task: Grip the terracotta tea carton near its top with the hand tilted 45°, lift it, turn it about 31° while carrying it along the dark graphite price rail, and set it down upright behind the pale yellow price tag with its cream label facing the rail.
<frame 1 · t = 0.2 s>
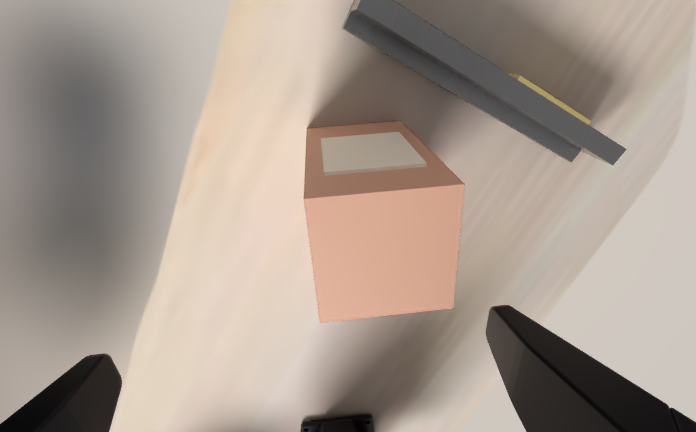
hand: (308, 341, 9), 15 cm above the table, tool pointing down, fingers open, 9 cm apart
tea carton: (356, 169, 22), on the table
price rail: (474, 83, 21), on the table
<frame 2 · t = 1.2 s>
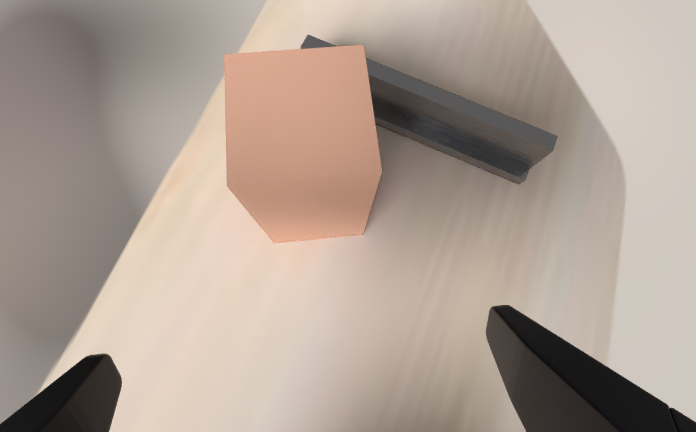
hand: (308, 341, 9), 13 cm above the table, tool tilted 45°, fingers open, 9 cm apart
tea carton: (315, 196, 23), on the table
price rail: (412, 124, 25), on the table
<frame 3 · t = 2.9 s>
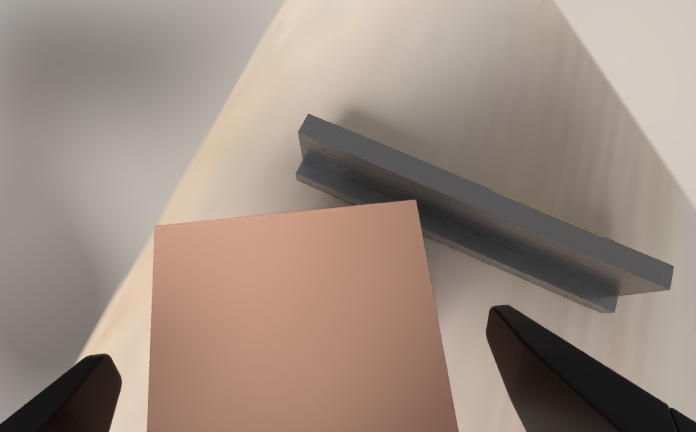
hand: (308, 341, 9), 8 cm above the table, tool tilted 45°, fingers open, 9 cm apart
tea carton: (319, 337, 16), on the table
price rail: (450, 226, 18), on the table
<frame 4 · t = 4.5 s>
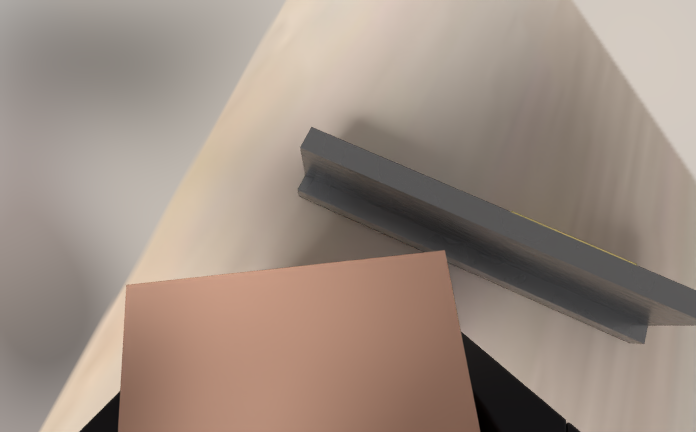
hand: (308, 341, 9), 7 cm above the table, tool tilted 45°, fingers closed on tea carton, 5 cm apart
tea carton: (322, 370, 15), on the table, touching gripper
price rail: (464, 246, 17), on the table
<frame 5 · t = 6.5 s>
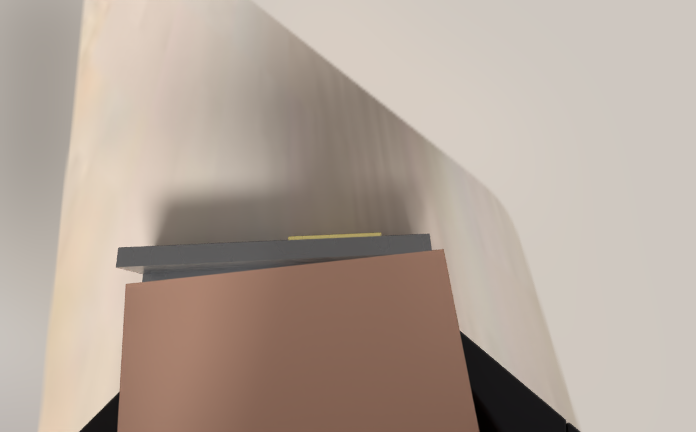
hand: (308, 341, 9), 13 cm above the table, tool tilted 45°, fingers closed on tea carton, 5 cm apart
tea carton: (322, 370, 15), point 6 cm above the table, touching gripper
price rail: (285, 265, 22), on the table
when the fingers open (8 cm above the table, at t = 8.6 s): tea carton drops 1 cm, on the table.
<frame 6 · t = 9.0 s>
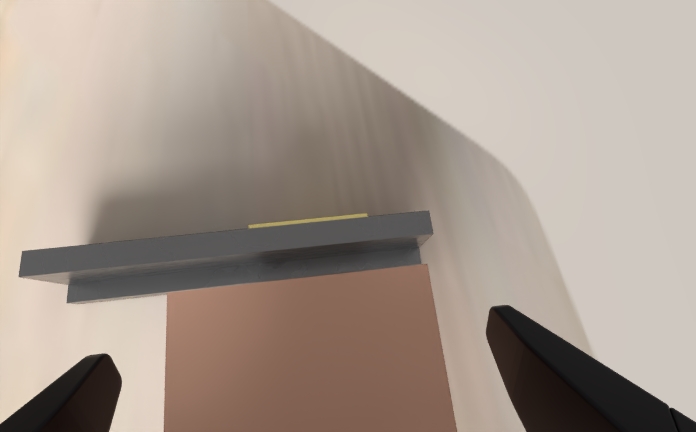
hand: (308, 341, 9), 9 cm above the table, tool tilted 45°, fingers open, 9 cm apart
tea carton: (324, 366, 17), on the table
price rail: (252, 264, 18), on the table
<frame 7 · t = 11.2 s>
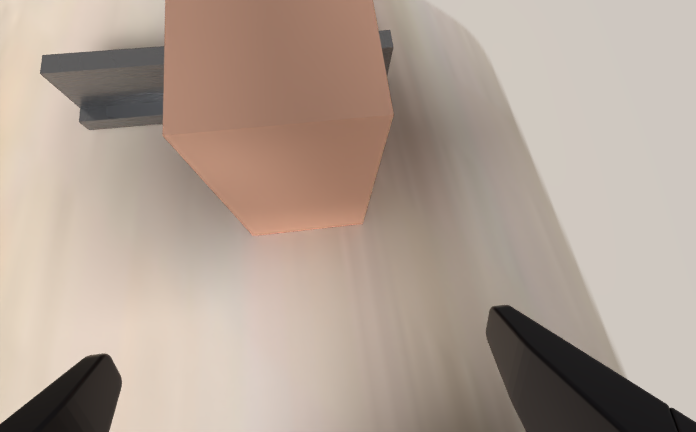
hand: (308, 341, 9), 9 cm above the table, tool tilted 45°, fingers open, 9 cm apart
tea carton: (303, 179, 19), on the table
price rail: (241, 100, 20), on the table
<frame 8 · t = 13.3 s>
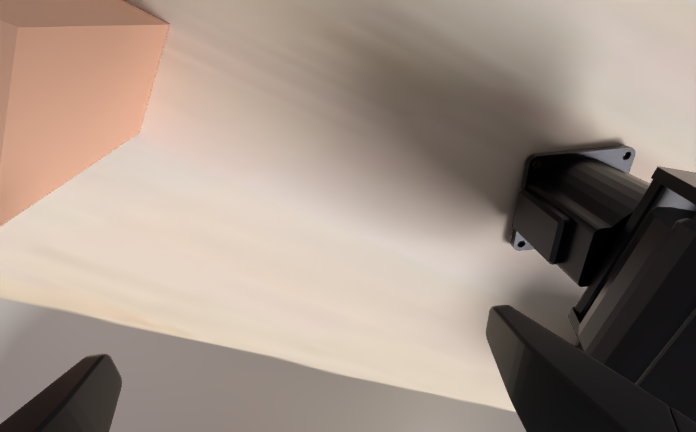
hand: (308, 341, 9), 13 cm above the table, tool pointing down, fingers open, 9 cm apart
tea carton: (91, 52, 17), on the table
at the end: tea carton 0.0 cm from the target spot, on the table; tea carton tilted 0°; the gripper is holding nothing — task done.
